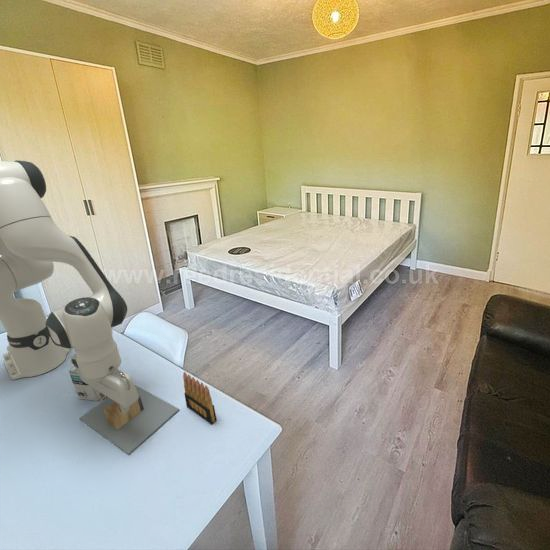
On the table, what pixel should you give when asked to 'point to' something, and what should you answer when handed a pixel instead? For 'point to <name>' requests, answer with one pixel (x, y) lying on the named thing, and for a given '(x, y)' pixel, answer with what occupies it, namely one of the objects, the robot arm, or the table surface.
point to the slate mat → (131, 421)
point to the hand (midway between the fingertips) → (114, 404)
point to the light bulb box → (82, 386)
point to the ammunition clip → (199, 399)
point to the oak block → (119, 418)
